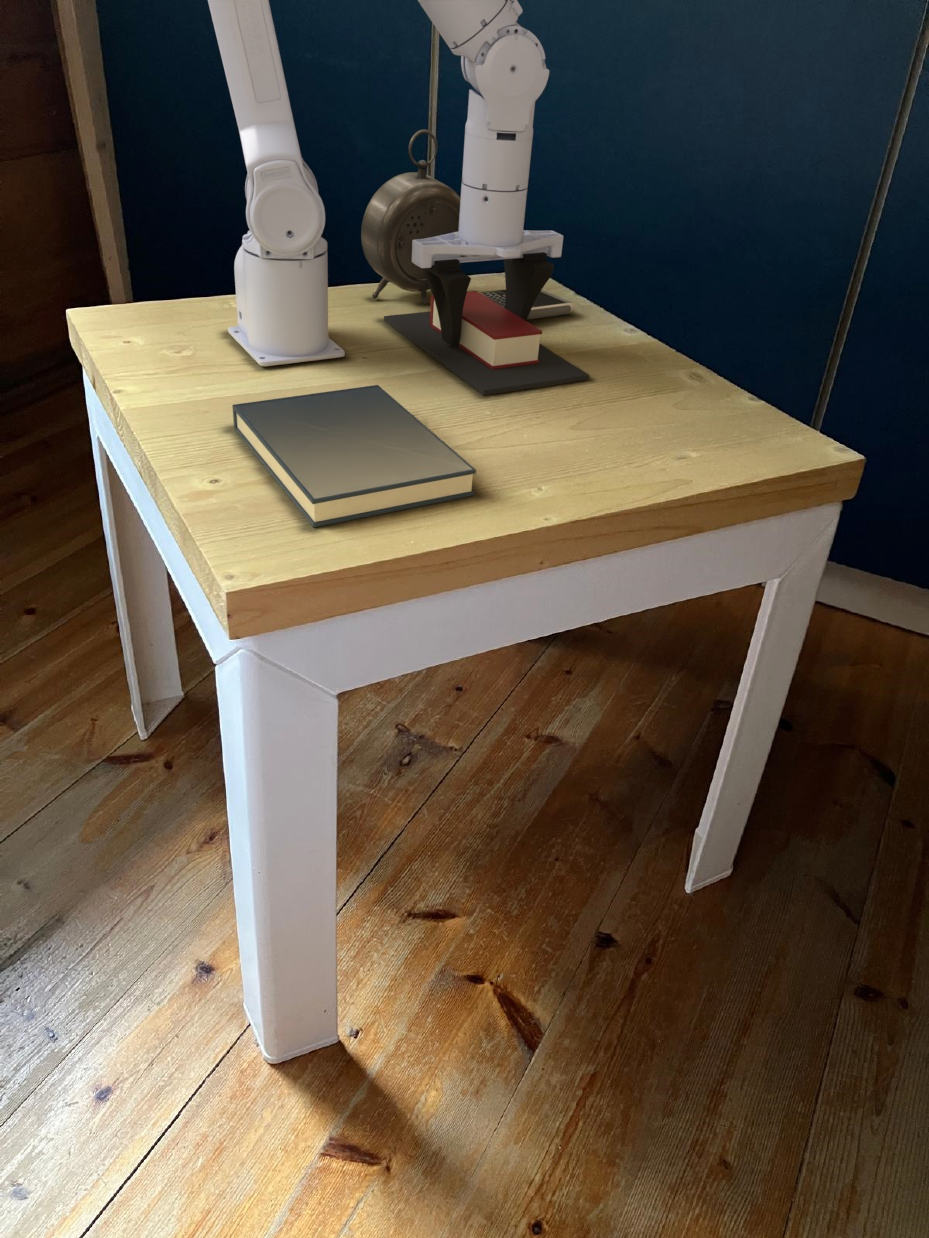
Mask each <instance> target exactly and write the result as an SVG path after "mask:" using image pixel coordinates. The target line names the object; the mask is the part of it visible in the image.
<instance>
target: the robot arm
mask: <svg viewBox="0 0 929 1238" xmlns="http://www.w3.org/2000/svg"><path fill="white" fill-rule="evenodd" d="M417 2H418V3H419V5H420V7H421V8H422V9H423V11H424V12H425V14H426V15H427V17H428V19H429V20H430V21H431V23H432V24H433V26H434V27H435V29H436V30H437V31H438V33H439V34H440V37H441V38H442V39H443V41H444V42H445V44H446V45H447V46H448V48H449V49H450V51H451V53H452V54H453V55H455V56H458V57H459V56H460V66H461V72H462V76H463V78H464V80H465V81H466V82H468V84H471V87H472V89H471V88H470V89H469V91H468V105H467V119H466V122H465V126H464V142H463V158H462V175H461V185H460V186H461V187H460V198H461V200H460V215H459V231H458V232H454V233H449V234H445V235H440V236H435V237H431V238H425V239H416V240H412V263H414V264H415V265H417V266H419V267H420V268H422V271H423V273H424V275H425V277H426V279H427V281H428V284H429V286H430V291H431V295H433V297H434V300H435V304H436V307H437V311H438V316H439V321H440V326H441V333H442V340H443V341H445V342H446V343H447V344H449V345H450V346H452V347H454V346H459V342H460V337H461V326H462V313H463V307H464V302H465V297H466V293H467V292H468V291H469V290H468V289H469V287H470V284H471V280H472V278H471V277H470V275H467V274H466V273H464V272H463V267H462V266H460V265H459V263H460V264H462V263H474V262H485V261H486V262H487V261H499V260H500V261H501V260H503V269H504V279H505V281H504V283H505V290H506V299H505V309H507V310H509V311H510V312H512V313H514V314H515V315H517V316H519V317H520V318H522V319H524V320H525V321H527V322H528V320H527V318H528V316H529V313H530V311H531V309H532V306H533V304H534V302H535V300H536V298H537V296H538V295H539V293H540V291H541V290H543V288H544V287H545V285H546V284H547V282H548V281H549V280H550V278H551V277H552V276H553V273H554V266H555V265H554V263H553V262H550V261H549V260H547V257H549V258H561V257H562V253H563V252H562V251H563V244H564V235H563V234H561V233H559V232H556V231H555V230H528V229H526V230H525V229H524V225H525V218H526V207H527V196H528V186H529V178H530V166H531V157H532V149H533V148H532V147H533V139H534V138H533V137H534V128H533V127H534V126H533V125H534V119H535V118H534V117H535V107H536V101H537V100H538V99H539V97H540V96H541V95H542V94H543V91H545V88H546V86H547V83H548V80H549V76H550V70H549V69H548V68H547V64H546V62H545V61H546V59H547V58H546V53H545V50H544V47H543V45H542V43H541V42H540V41H541V40H539V39H538V38H537V36H536V35H535V34H534V33H533V32H531V31H530V30H529V29H526V28H525V27H523V26H521V25H520V24H519V23H518V19H519V17H520V16H521V15H522V14H523V10H524V9H523V8H522V6H521V4H520V3H519V1H518V0H417ZM207 3H208V7H209V11H210V15H211V21H212V23H213V28H214V32H215V36H216V40H217V45H218V49H219V53H220V57H221V61H222V65H223V69H224V74H225V78H226V82H227V87H228V90H229V95H230V99H231V103H232V108H233V111H234V116H235V119H236V125H237V128H238V133H239V138H240V142H241V147H242V153H243V158H244V163H245V167H246V171H247V174H246V178H245V183H244V184H245V185H244V193H245V199H246V206H245V219H246V225H247V227H248V229H249V230H248V231H247V233H246V234H245V233H244V235H242V239H241V246H240V247H239V249H238V250H237V252H236V255H235V259H234V265H233V271H234V283H235V284H234V286H235V301H236V318H237V325H235V326H229V327H227V332H228V334H229V335H230V336H231V337H232V338H233V339H234V340H235V341H236V342H237V344H239V345H240V346H241V348H243V349H244V351H245V352H246V353H247V354H248V355H249V356H250V357H251V358H252V359H253V360H254V361H255V362H257V364H258V365H259V366H261V367H271V366H273V367H274V366H279V365H289V364H298V363H304V362H305V363H306V362H313V361H322V360H329V359H336V358H337V359H338V358H343V357H345V356H346V351H345V350H344V349H343V348H341V346H339V345H338V344H337V343H336V342H335V341H334V340H332V338H330V337H329V280H328V279H329V274H328V273H329V271H328V270H329V267H328V265H329V264H328V261H329V260H328V259H329V257H328V241H327V240H326V239H325V238H323V236H322V235H323V233H324V229H325V226H326V210H325V205H324V202H323V200H322V197H321V196H320V194H319V187H318V182H317V179H316V176H315V175H314V173H313V171H312V169H311V168H310V166H309V165H308V164H307V163H306V162H305V160H304V158H303V157H302V153H301V149H300V144H299V140H298V135H297V130H296V125H295V121H294V115H293V111H292V108H291V102H290V97H289V91H288V87H287V82H286V77H285V74H284V73H285V72H284V68H283V67H284V66H283V63H282V58H281V54H280V49H279V48H280V47H279V42H278V39H277V34H276V29H275V23H274V20H273V16H272V10H271V5H270V1H269V0H207Z"/></svg>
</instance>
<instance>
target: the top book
mask: <svg viewBox="0 0 929 1238" xmlns="http://www.w3.org/2000/svg"><path fill="white" fill-rule="evenodd" d="M430 326H431V327H432V328H434V329H435V330H436V331H438V332H439V333H441V326H440V321H439V316H438V311H437V307H436V304H435V300H434V297H433V294H431V295H430ZM441 334H442V333H441ZM541 335H543V330H542V329H540V328H538V327H537V326H535V325H534V324H532V323H530V322H529V321H528V320H527V321H525V320H524V319H522V318H520V317H519V316H517V315H515V314H514V313H512V312H510V311H509V310H507V309H505V308H504V307H502V306H501V305H499V304H497V303H496V302H494V301H492V300H491V299H489V298H487V297H486V296H484V295H482V294H481V293H479V291H477V290H470V291H469V290H468V291H467V293H466V297H465V302H464V307H463V313H462V326H461V337H460V342H459V347H461V348H462V349H463V350H465V351H466V352H468V353H469V354H470V355H472V356H473V357H475V358H476V359H478V360H479V361H480V362H482V363H483V364H485V365H486V366H487V367H489V368H490V369H499V368H506V367H514V366H521V365H528V364H535V363H539V360H538V352H539V344H541V343H540V342H541Z"/></svg>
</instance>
